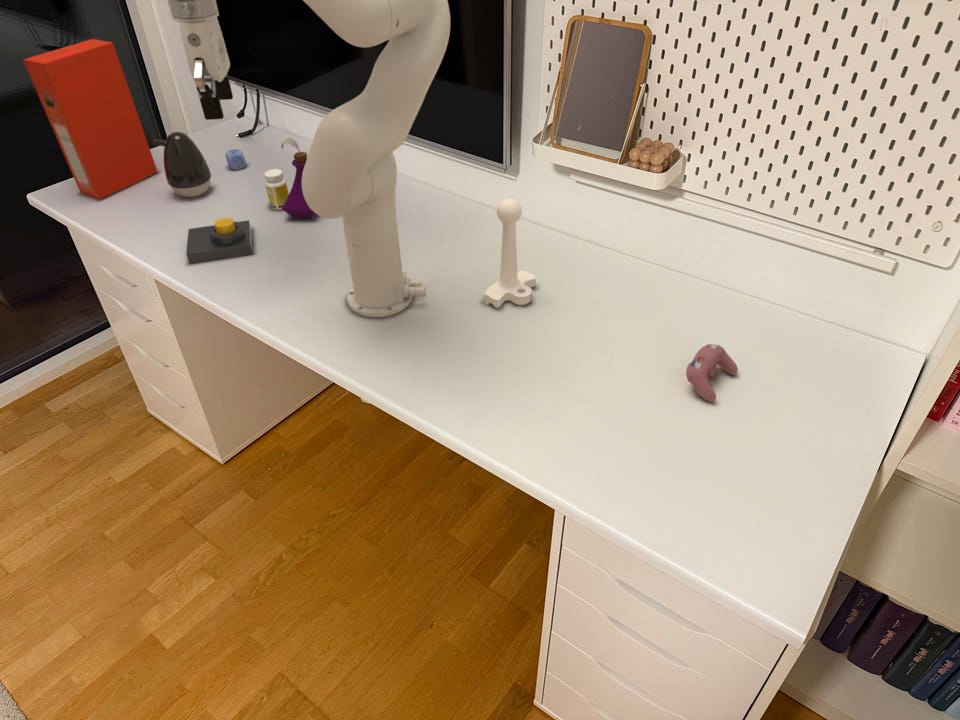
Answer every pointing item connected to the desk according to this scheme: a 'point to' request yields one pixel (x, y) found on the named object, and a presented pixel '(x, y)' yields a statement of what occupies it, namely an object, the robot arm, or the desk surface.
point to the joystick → (510, 262)
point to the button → (225, 226)
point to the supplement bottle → (276, 188)
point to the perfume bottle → (297, 187)
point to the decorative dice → (235, 159)
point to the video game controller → (708, 369)
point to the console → (218, 243)
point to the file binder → (92, 116)
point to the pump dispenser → (184, 165)
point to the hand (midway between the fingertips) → (219, 108)
